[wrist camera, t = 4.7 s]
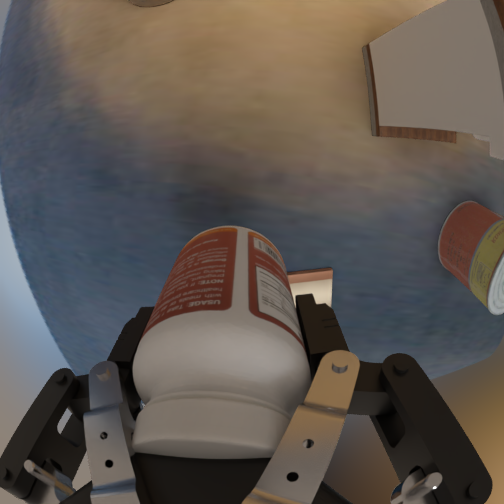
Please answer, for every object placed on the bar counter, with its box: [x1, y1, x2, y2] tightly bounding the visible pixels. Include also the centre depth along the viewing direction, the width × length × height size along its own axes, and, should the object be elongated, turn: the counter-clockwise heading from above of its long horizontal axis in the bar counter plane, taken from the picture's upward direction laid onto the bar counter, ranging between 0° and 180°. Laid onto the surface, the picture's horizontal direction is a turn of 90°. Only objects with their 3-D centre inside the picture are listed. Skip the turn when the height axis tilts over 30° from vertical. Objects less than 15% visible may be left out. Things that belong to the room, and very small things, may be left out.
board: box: [287, 268, 333, 308], centre depth 35 cm, size 12×20×1 cm, turn 96°
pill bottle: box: [132, 226, 311, 459], centre depth 11 cm, size 6×6×11 cm
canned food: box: [438, 201, 504, 315], centre depth 26 cm, size 11×11×12 cm
